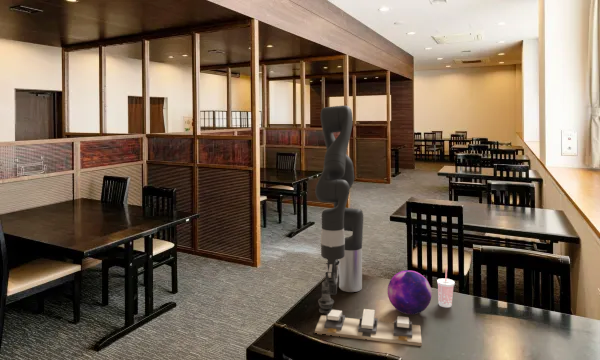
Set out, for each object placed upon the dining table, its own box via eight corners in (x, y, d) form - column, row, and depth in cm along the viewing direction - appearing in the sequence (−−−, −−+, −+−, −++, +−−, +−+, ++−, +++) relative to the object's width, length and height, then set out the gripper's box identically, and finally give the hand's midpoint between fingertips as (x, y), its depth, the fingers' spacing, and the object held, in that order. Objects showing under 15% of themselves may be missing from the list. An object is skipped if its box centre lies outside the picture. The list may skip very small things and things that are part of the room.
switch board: (321, 317, 141) (321, 307, 140) (420, 328, 132) (420, 317, 132) (314, 333, 130) (314, 322, 130) (421, 346, 122) (421, 334, 121)
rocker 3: (397, 319, 133) (397, 316, 133) (408, 321, 132) (408, 317, 133) (397, 326, 126) (397, 322, 126) (409, 327, 125) (409, 323, 125)
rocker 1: (331, 313, 139) (331, 309, 139) (342, 314, 138) (342, 310, 138) (327, 319, 131) (327, 315, 131) (338, 320, 130) (338, 316, 130)
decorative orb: (387, 301, 153) (387, 263, 151) (428, 304, 150) (429, 265, 148) (387, 320, 138) (388, 278, 136) (433, 324, 135) (434, 281, 133)
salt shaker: (333, 306, 149) (333, 275, 148) (335, 313, 143) (335, 281, 142) (317, 307, 149) (316, 275, 147) (318, 314, 143) (318, 282, 142)
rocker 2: (363, 311, 136) (363, 308, 135) (374, 312, 135) (374, 309, 135) (361, 327, 129) (361, 324, 128) (372, 329, 128) (372, 325, 127)
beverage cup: (457, 305, 148) (458, 268, 147) (447, 309, 145) (448, 272, 143) (443, 299, 153) (444, 264, 152) (432, 303, 150) (433, 267, 148)
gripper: (325, 235, 135) (325, 285, 138) (316, 247, 123) (317, 301, 125) (347, 237, 133) (347, 287, 136) (341, 248, 121) (341, 304, 123)
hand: (333, 294), depth 130 cm, fingers closed
